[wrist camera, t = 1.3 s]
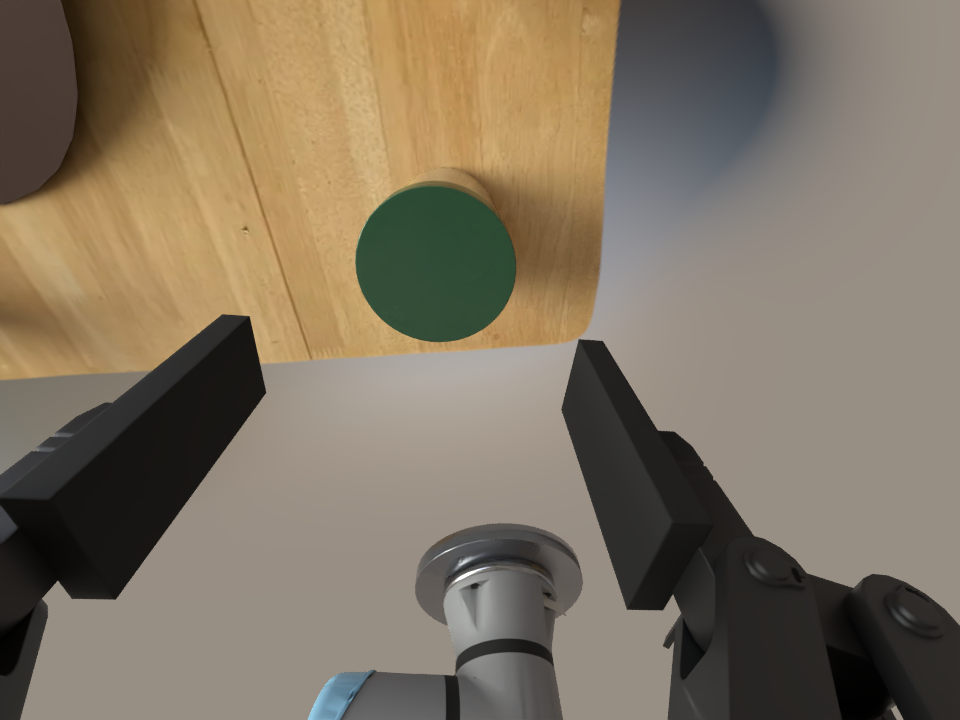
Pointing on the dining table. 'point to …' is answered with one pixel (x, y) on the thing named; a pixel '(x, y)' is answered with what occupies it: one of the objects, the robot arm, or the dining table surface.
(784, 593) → the robot arm
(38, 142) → the plate
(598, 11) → the dining table surface
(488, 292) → the jar lid
